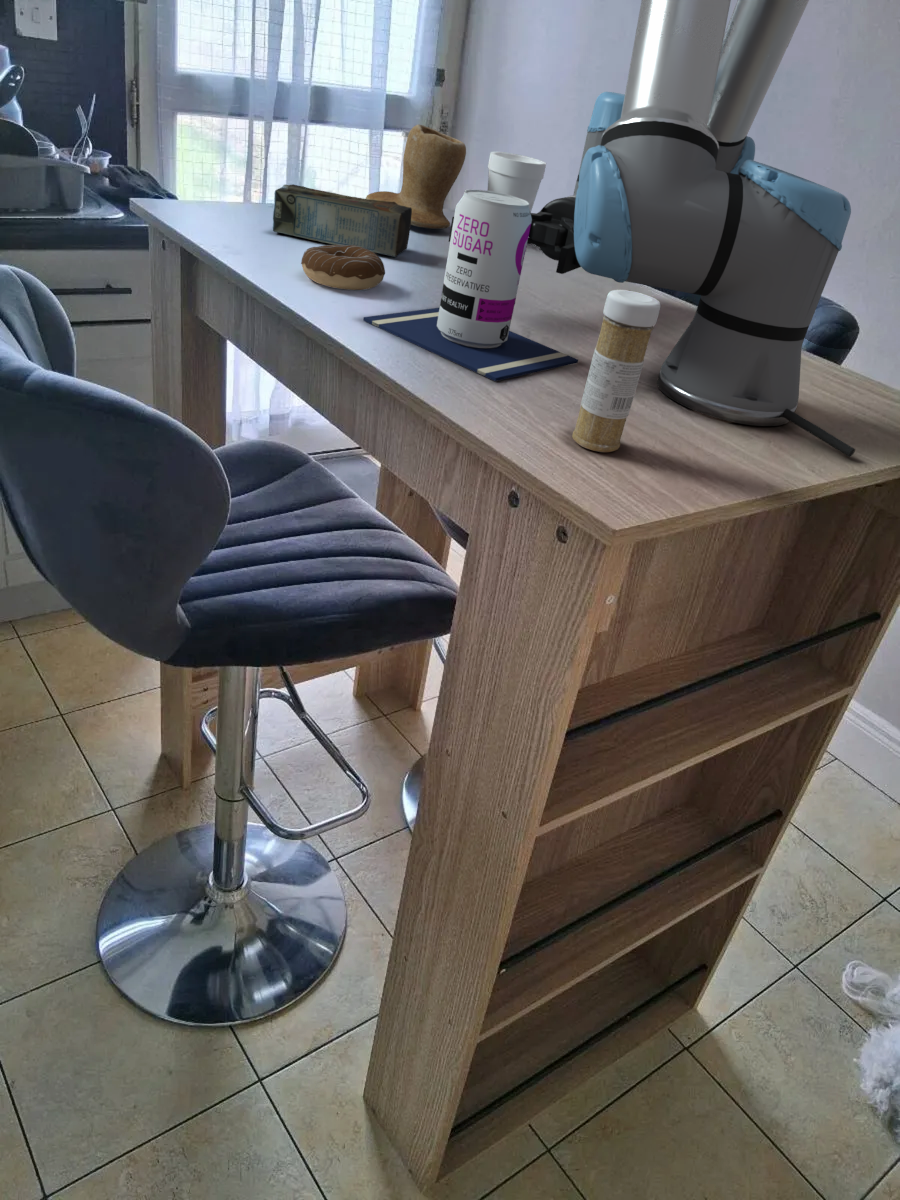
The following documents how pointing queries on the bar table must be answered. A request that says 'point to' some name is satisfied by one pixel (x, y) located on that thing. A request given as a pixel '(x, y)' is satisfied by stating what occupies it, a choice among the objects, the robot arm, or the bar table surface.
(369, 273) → the donut
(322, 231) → the beverage carton
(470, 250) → the white soda can
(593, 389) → the sprinkles bottle
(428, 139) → the tan boot
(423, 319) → the tea towel
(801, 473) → the bar table surface
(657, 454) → the bar table surface
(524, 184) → the foam cup
